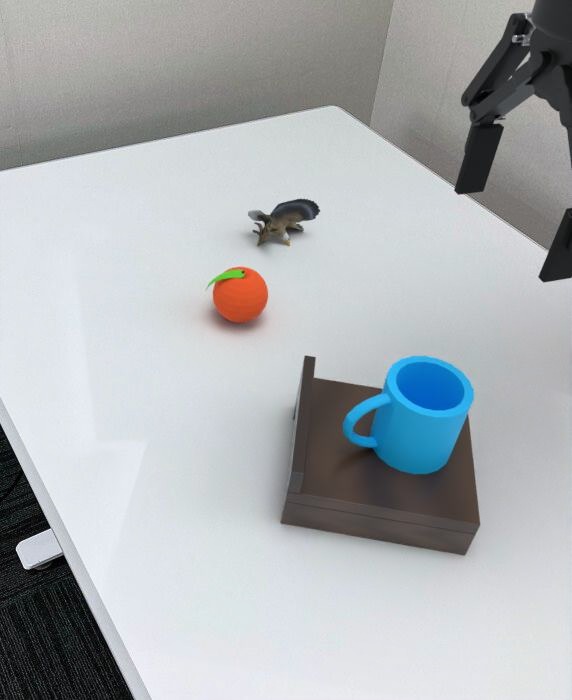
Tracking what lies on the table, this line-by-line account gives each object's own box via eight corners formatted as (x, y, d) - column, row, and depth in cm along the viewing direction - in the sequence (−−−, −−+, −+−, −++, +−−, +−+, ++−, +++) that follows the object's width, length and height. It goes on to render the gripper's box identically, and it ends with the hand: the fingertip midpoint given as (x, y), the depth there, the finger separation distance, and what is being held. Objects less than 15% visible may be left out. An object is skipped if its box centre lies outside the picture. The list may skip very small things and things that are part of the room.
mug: (429, 407, 82) (450, 351, 76) (464, 468, 76) (489, 411, 71) (322, 422, 79) (336, 365, 74) (350, 485, 73) (367, 428, 68)
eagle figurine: (288, 258, 107) (329, 224, 110) (266, 212, 104) (309, 179, 108) (254, 259, 113) (294, 227, 117) (233, 216, 110) (275, 185, 114)
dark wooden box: (454, 432, 86) (475, 382, 81) (465, 555, 75) (490, 505, 69) (294, 406, 88) (304, 354, 82) (280, 523, 76) (291, 472, 70)
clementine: (208, 337, 95) (212, 291, 90) (197, 301, 100) (200, 256, 95) (271, 331, 97) (277, 286, 92) (257, 296, 102) (263, 252, 97)
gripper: (462, -76, 61) (405, 165, 75) (687, 47, 44) (557, 329, 58) (543, -78, 63) (472, 157, 77) (789, 39, 46) (639, 314, 60)
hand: (508, 231), depth 68 cm, fingers open, 13 cm apart
